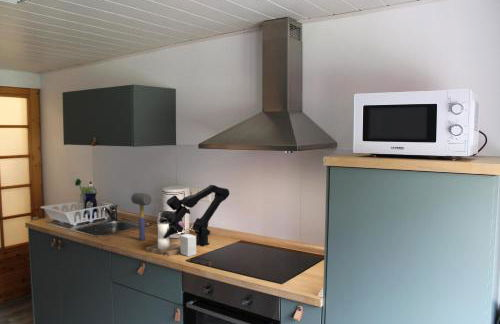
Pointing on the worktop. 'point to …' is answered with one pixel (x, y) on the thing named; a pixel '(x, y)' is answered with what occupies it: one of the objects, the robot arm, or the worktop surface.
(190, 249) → the small box
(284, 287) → the worktop surface
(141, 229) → the rubber mallet
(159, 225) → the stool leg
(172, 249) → the socket board
